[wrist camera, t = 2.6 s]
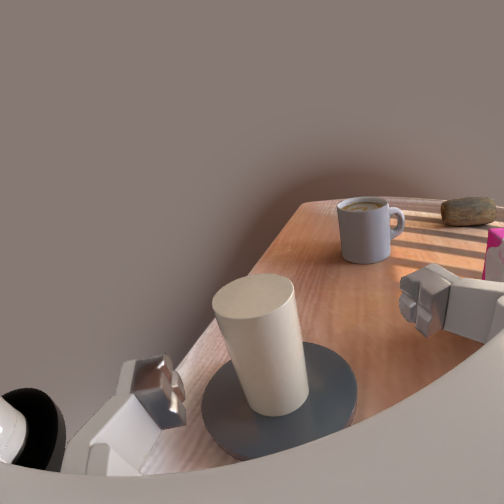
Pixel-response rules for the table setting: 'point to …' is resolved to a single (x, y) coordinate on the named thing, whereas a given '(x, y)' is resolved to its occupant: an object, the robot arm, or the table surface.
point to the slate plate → (286, 426)
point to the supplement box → (494, 256)
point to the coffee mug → (367, 228)
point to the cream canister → (264, 341)
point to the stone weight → (469, 211)
